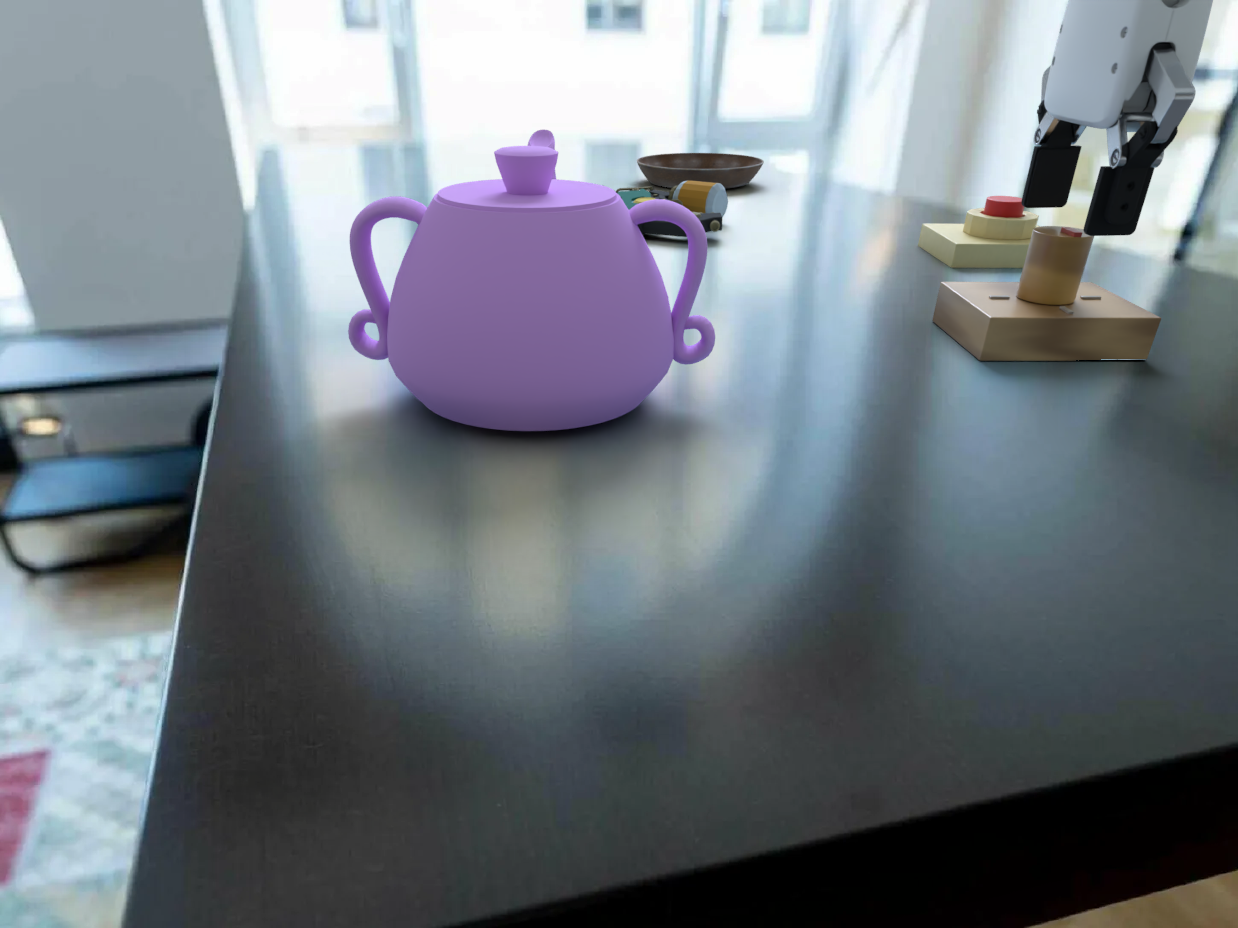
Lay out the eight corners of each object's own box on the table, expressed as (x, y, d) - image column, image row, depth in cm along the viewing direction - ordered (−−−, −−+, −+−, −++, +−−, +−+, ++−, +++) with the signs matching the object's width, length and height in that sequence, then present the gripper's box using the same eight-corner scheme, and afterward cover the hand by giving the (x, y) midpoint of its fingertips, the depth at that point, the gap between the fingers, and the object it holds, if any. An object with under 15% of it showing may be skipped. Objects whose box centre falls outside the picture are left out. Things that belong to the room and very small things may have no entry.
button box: (1029, 246, 95) (1040, 204, 93) (1073, 268, 87) (1087, 223, 85) (917, 245, 95) (925, 204, 93) (950, 268, 87) (961, 223, 84)
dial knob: (1006, 291, 68) (1024, 221, 65) (1058, 290, 68) (1078, 221, 65) (1030, 305, 64) (1050, 232, 62) (1085, 305, 65) (1107, 232, 62)
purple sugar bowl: (691, 337, 67) (706, 124, 59) (725, 454, 49) (753, 173, 42) (395, 334, 67) (371, 120, 59) (323, 450, 49) (274, 167, 41)
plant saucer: (611, 184, 126) (611, 159, 124) (677, 170, 138) (678, 147, 136) (722, 198, 118) (724, 172, 116) (782, 182, 130) (785, 158, 128)
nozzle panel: (1080, 321, 72) (1092, 279, 70) (1146, 361, 64) (1163, 315, 62) (931, 321, 72) (940, 279, 70) (979, 361, 63) (991, 315, 62)
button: (1012, 214, 91) (1017, 195, 90) (1027, 221, 88) (1032, 202, 87) (976, 214, 90) (981, 195, 89) (990, 221, 87) (995, 201, 86)
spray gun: (714, 254, 94) (577, 249, 97) (742, 215, 106) (620, 212, 110) (716, 210, 91) (574, 206, 95) (744, 175, 103) (619, 173, 107)
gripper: (1321, -111, 46) (1197, 246, 56) (1143, -84, 60) (1069, 197, 70) (1176, -109, 46) (1077, 248, 56) (1032, -83, 60) (974, 199, 70)
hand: (1073, 219), depth 63 cm, fingers open, 9 cm apart
